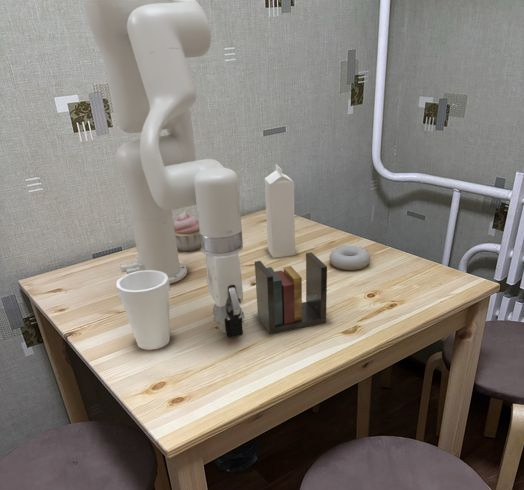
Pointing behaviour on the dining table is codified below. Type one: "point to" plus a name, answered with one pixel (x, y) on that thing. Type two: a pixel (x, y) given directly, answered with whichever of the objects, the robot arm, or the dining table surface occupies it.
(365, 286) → the dining table surface
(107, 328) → the dining table surface
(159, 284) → the foam cup
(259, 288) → the book rack
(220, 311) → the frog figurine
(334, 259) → the donut
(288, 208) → the milk
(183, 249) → the cupcake
